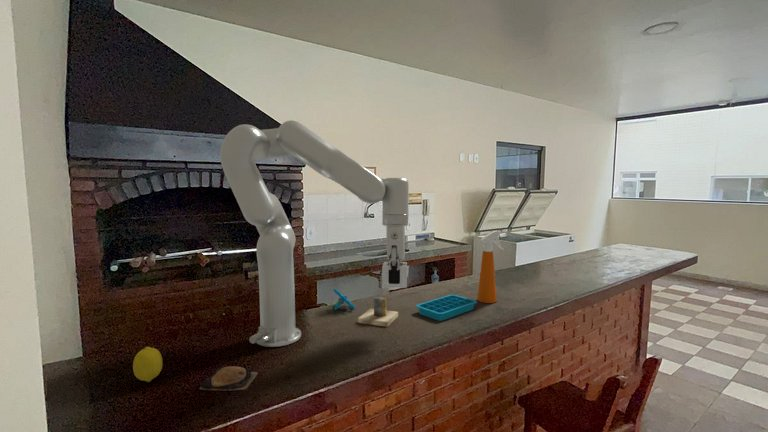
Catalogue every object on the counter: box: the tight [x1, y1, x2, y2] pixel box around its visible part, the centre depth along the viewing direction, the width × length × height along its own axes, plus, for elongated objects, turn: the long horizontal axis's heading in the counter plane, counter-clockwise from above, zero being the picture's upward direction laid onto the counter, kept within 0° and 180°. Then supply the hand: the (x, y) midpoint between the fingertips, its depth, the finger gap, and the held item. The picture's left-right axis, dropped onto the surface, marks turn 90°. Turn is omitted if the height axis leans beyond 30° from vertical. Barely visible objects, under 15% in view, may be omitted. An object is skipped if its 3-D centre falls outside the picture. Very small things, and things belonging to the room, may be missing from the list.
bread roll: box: [198, 365, 258, 392], centre depth 83 cm, size 11×8×4 cm
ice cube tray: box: [415, 294, 478, 322], centre depth 129 cm, size 12×20×3 cm, turn 131°
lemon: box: [132, 346, 163, 383], centre depth 82 cm, size 6×6×8 cm
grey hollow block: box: [381, 261, 408, 289], centre depth 110 cm, size 7×7×6 cm
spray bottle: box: [476, 230, 505, 304], centre depth 140 cm, size 7×11×26 cm, turn 112°
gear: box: [332, 288, 356, 311], centre depth 131 cm, size 11×6×10 cm
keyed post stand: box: [357, 296, 399, 328], centre depth 121 cm, size 10×10×7 cm
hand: (394, 279), depth 110 cm, fingers closed on grey hollow block, 7 cm apart
